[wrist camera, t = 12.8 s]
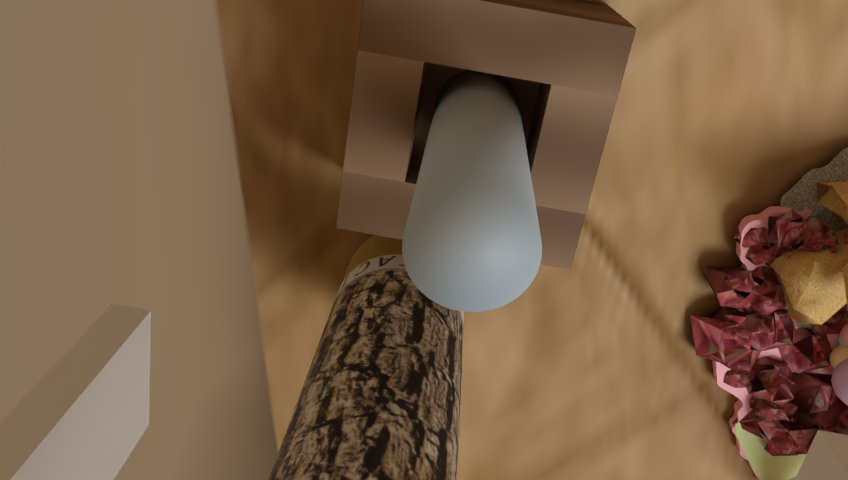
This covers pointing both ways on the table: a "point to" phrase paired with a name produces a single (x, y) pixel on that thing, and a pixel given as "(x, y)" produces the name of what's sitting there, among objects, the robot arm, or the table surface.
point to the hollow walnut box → (495, 54)
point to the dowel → (474, 200)
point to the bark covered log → (379, 381)
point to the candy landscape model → (785, 323)
